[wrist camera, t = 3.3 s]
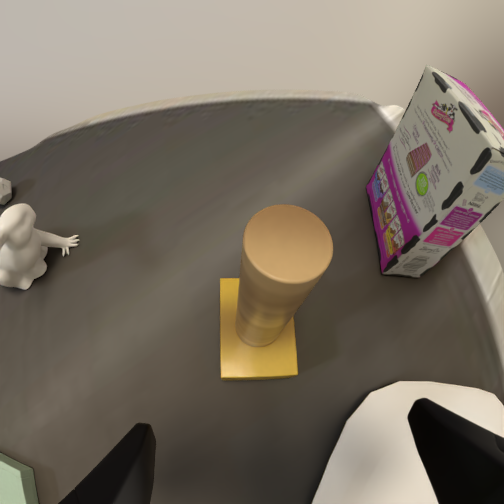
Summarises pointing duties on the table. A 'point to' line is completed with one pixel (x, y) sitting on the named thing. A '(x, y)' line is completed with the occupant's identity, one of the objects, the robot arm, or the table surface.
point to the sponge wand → (270, 292)
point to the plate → (395, 444)
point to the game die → (5, 191)
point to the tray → (16, 482)
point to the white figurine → (25, 247)
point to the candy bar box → (435, 176)
